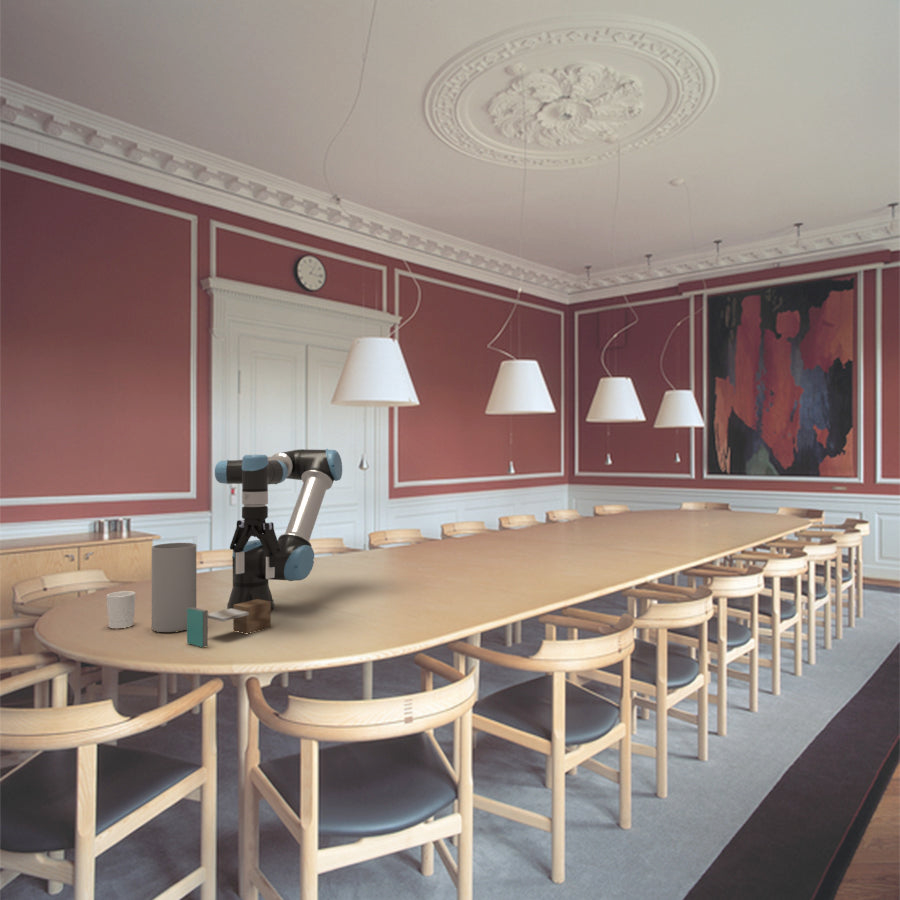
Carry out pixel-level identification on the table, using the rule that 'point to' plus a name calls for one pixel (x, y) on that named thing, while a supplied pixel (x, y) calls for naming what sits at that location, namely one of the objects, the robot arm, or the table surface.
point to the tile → (197, 626)
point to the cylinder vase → (173, 585)
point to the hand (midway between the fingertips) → (254, 575)
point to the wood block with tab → (247, 615)
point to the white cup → (121, 609)
